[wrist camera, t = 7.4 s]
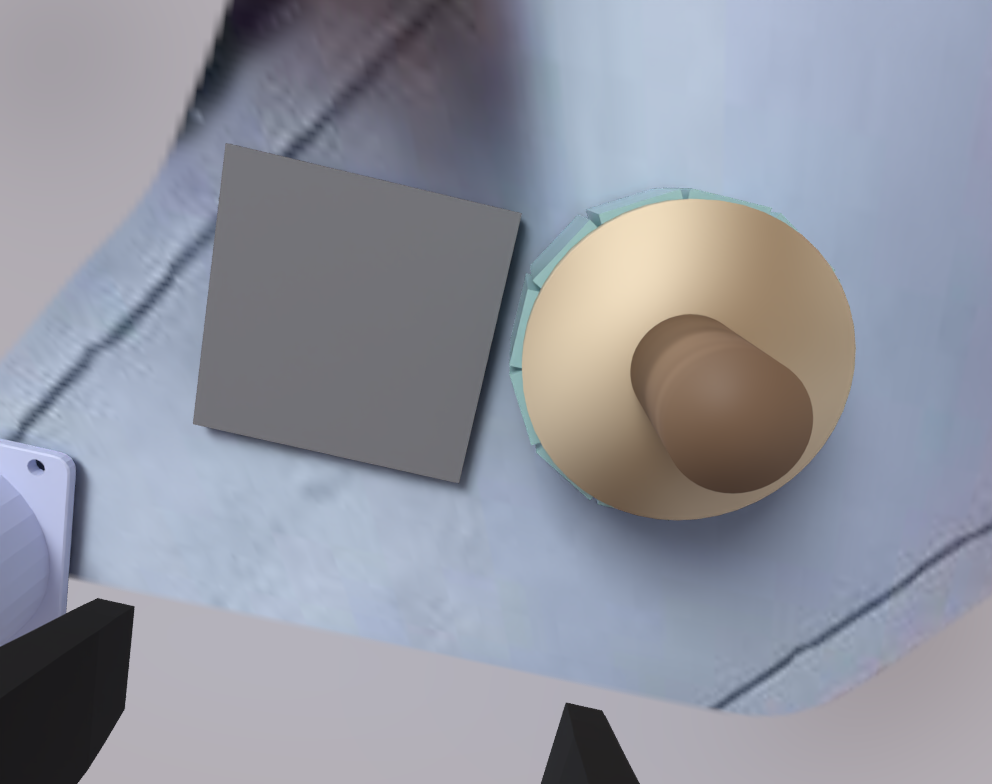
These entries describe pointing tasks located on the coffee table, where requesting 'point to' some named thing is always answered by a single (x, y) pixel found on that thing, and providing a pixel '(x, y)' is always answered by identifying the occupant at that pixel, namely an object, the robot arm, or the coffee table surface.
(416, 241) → the mat
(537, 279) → the bowl
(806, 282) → the lid
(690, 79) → the coffee table surface
